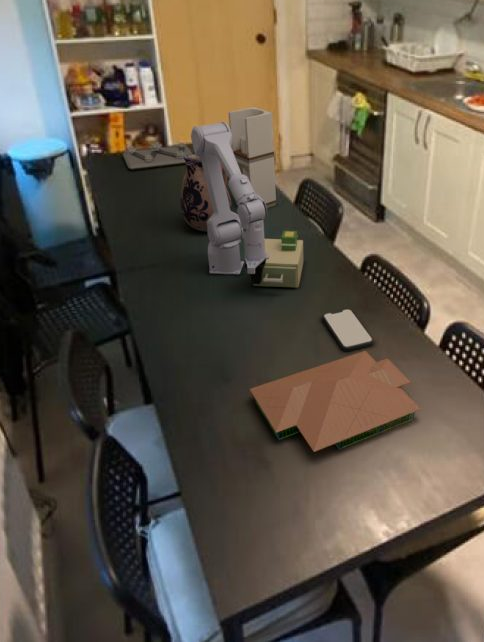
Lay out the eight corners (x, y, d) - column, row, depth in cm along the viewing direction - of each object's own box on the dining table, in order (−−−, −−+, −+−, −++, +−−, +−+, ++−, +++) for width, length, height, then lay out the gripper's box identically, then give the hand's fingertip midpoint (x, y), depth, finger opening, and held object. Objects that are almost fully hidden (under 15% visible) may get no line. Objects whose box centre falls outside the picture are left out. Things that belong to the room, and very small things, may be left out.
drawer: (294, 294, 163) (293, 275, 160) (252, 292, 163) (250, 274, 160) (300, 263, 179) (300, 245, 175) (262, 261, 179) (261, 244, 175)
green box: (295, 252, 170) (295, 239, 167) (281, 251, 170) (280, 238, 167) (297, 241, 175) (297, 229, 173) (283, 241, 176) (283, 228, 173)
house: (429, 415, 124) (433, 388, 120) (293, 471, 110) (292, 442, 106) (374, 357, 141) (376, 331, 136) (250, 399, 127) (248, 372, 123)
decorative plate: (129, 172, 245) (126, 156, 241) (122, 156, 261) (119, 141, 257) (198, 163, 256) (196, 148, 252) (187, 149, 272) (185, 134, 268)
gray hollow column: (259, 197, 225) (254, 107, 206) (276, 205, 219) (272, 113, 199) (235, 204, 218) (228, 112, 199) (252, 213, 212) (246, 118, 193)
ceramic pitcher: (173, 231, 197) (162, 162, 184) (206, 209, 214) (199, 144, 200) (216, 241, 192) (208, 170, 178) (247, 217, 208) (242, 151, 195)
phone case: (375, 345, 145) (350, 312, 157) (375, 341, 144) (350, 307, 156) (343, 353, 142) (320, 318, 154) (343, 348, 141) (320, 314, 154)
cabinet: (298, 287, 168) (298, 264, 164) (253, 285, 168) (251, 262, 164) (303, 262, 181) (303, 240, 176) (261, 260, 181) (260, 238, 177)
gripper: (264, 254, 150) (266, 296, 158) (272, 230, 163) (274, 271, 170) (238, 252, 151) (241, 295, 158) (248, 229, 163) (250, 270, 170)
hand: (256, 283), depth 164 cm, fingers closed
